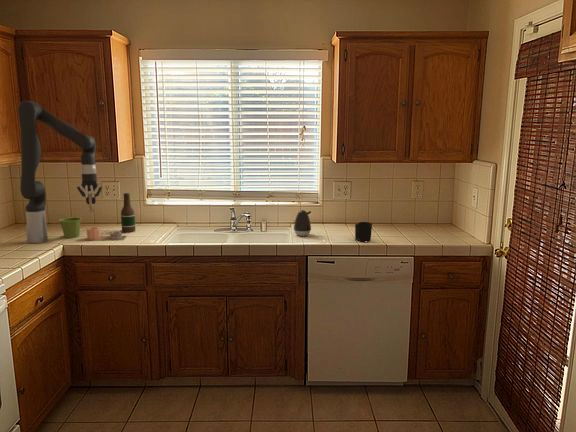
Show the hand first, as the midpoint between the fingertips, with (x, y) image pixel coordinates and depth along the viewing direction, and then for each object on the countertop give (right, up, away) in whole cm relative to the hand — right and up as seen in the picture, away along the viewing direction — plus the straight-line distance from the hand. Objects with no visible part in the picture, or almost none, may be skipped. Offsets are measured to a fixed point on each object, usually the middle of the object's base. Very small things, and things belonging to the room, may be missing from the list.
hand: (91, 203), depth 252 cm
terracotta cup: (0, -19, +4) cm, 20 cm away
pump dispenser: (+117, -18, +21) cm, 120 cm away
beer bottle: (+13, -17, +23) cm, 31 cm away
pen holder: (+151, -21, +9) cm, 153 cm away
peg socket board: (+6, -20, +5) cm, 22 cm away
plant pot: (-14, -20, +8) cm, 26 cm away
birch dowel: (0, -4, +1) cm, 4 cm away
